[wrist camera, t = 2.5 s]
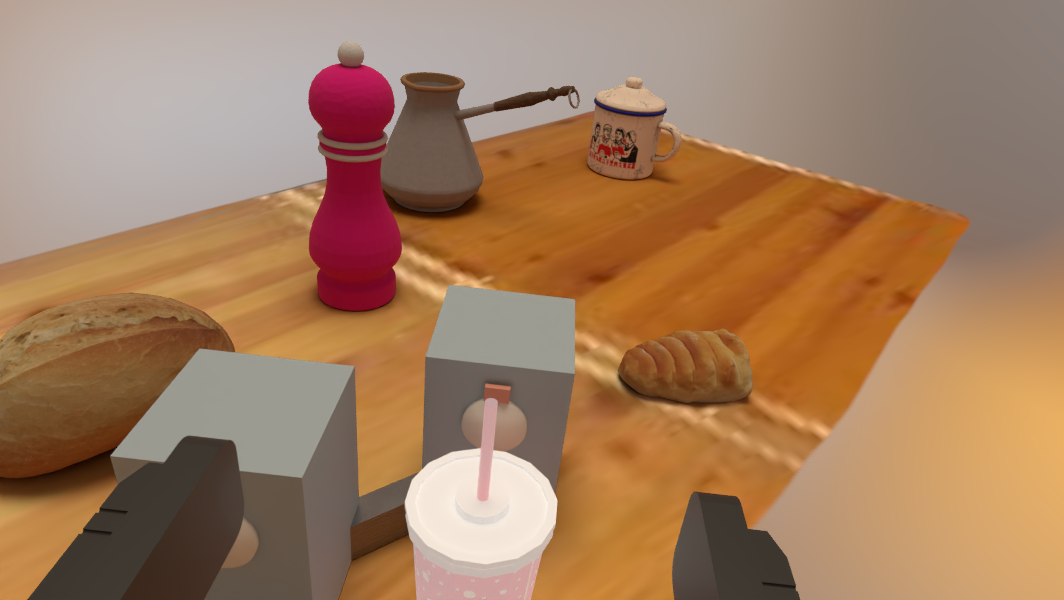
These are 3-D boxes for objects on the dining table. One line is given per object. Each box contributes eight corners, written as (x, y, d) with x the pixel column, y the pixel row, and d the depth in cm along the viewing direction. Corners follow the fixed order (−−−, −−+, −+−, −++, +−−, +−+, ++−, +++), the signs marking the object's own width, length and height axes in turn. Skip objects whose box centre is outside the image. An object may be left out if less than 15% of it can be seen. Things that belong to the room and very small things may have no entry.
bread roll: (276, 408, 45) (265, 301, 41) (7, 537, 35) (-43, 412, 31) (201, 344, 50) (184, 244, 46) (-54, 441, 40) (-103, 323, 36)
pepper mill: (315, 319, 54) (298, 51, 44) (308, 274, 60) (292, 28, 50) (408, 311, 57) (412, 55, 47) (393, 269, 63) (394, 33, 53)
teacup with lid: (572, 167, 91) (585, 75, 85) (604, 152, 98) (618, 66, 92) (657, 193, 86) (676, 97, 80) (685, 175, 93) (704, 86, 87)
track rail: (274, 596, 34) (270, 562, 32) (263, 572, 35) (258, 539, 33) (498, 491, 41) (502, 460, 40) (483, 474, 42) (486, 444, 41)
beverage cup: (467, 562, 36) (485, 336, 29) (561, 636, 33) (606, 403, 26) (374, 642, 32) (370, 400, 25) (472, 736, 29) (499, 489, 22)
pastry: (636, 415, 49) (646, 370, 47) (603, 359, 54) (611, 317, 52) (756, 405, 51) (770, 361, 49) (713, 352, 57) (724, 311, 55)
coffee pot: (354, 202, 74) (350, 55, 67) (412, 172, 84) (414, 40, 76) (538, 255, 68) (557, 99, 61) (579, 215, 77) (599, 77, 70)
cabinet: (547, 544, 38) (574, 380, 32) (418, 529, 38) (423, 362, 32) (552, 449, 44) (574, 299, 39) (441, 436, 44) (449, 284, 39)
